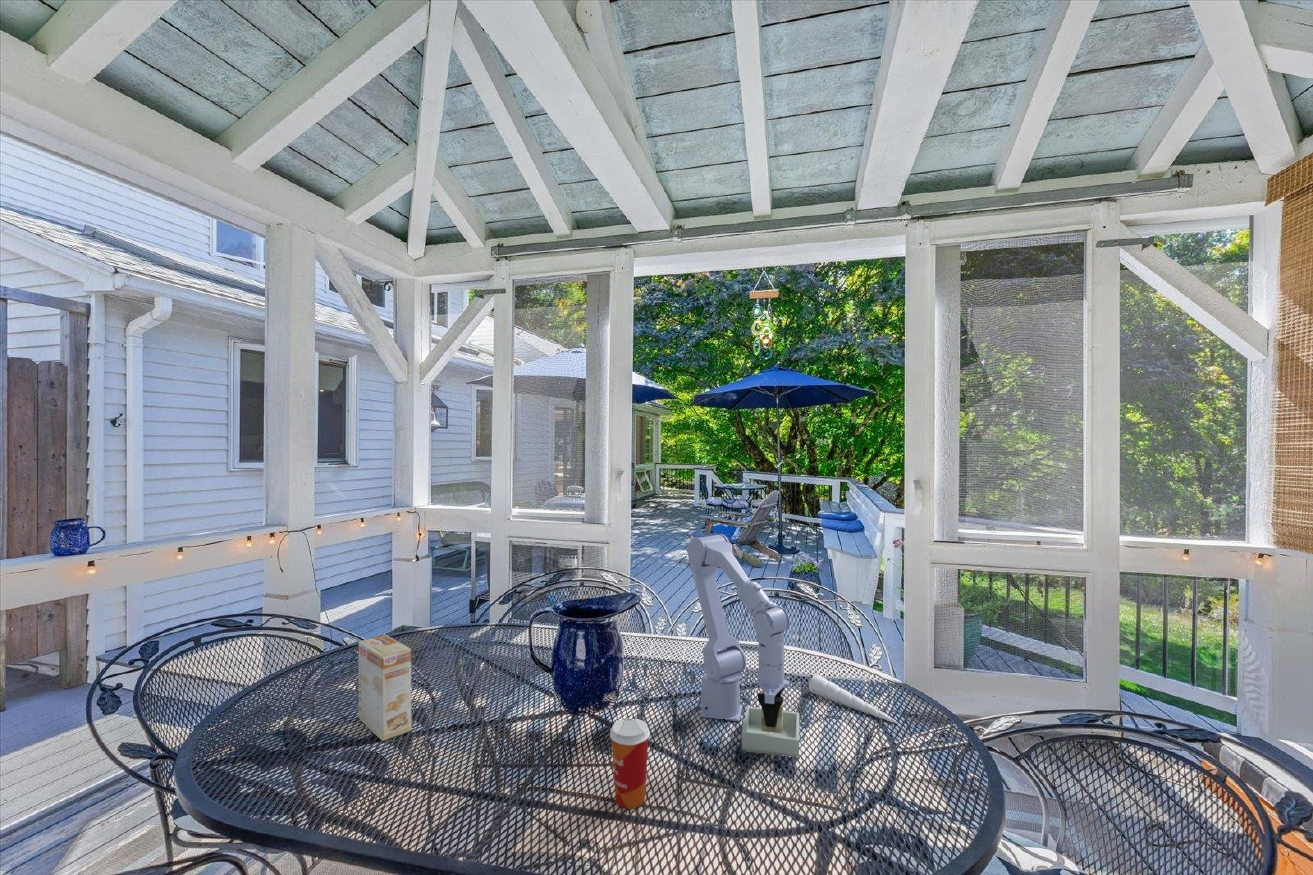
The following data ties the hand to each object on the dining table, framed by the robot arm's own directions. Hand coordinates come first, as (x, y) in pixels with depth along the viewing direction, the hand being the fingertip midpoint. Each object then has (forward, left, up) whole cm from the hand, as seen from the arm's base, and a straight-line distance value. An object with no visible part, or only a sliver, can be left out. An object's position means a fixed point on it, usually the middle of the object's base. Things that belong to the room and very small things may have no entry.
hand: (771, 720), depth 128 cm
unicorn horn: (+19, +22, -5) cm, 29 cm away
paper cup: (-25, -28, -5) cm, 38 cm away
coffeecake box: (-91, -16, -5) cm, 93 cm away
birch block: (0, 0, -2) cm, 2 cm away
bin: (0, 0, -4) cm, 4 cm away
